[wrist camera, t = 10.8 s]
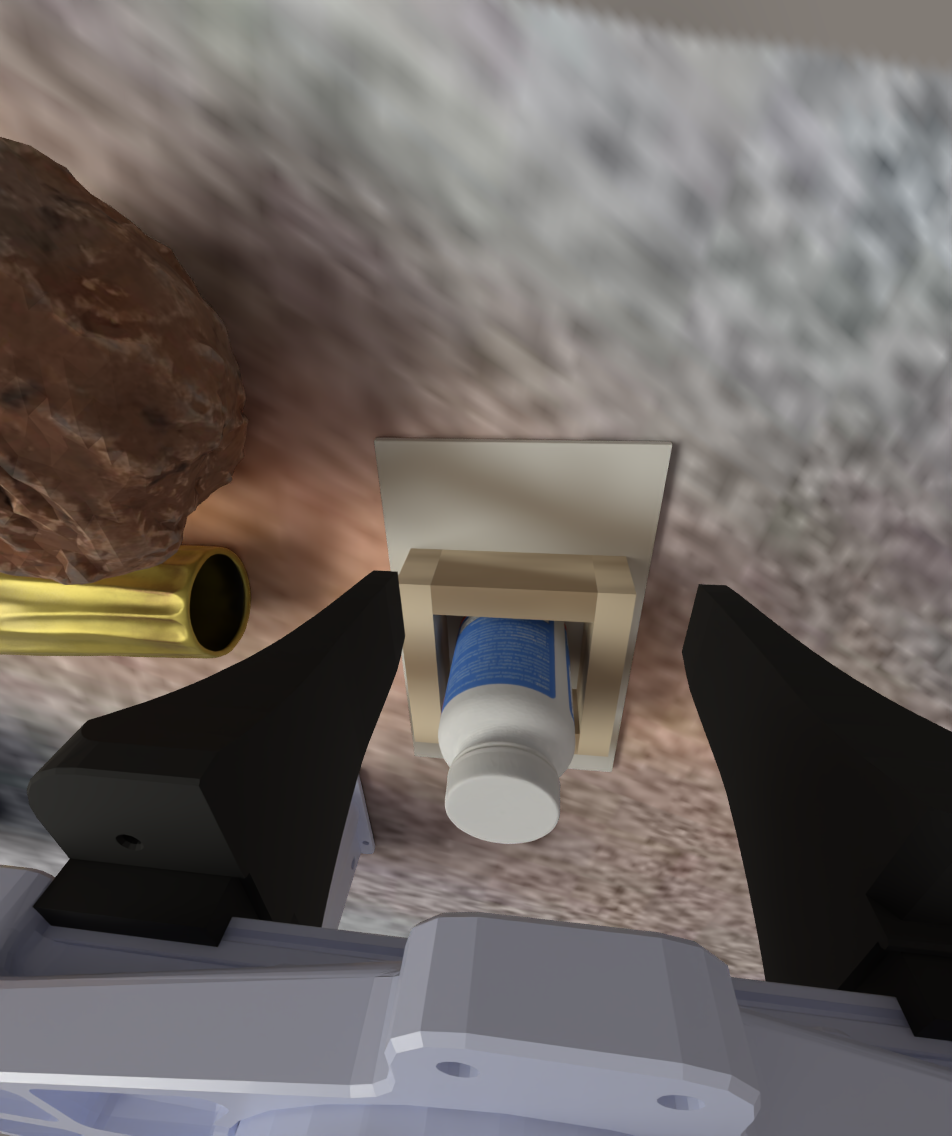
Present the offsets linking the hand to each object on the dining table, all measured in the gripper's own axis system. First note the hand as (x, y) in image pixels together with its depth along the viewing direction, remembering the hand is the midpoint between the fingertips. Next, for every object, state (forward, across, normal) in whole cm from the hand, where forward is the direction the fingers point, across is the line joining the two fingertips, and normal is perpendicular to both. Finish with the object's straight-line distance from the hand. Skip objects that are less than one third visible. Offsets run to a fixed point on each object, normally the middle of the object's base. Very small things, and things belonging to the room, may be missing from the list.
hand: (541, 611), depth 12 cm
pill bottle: (+10, +1, +9) cm, 13 cm away
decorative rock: (+11, +16, -4) cm, 20 cm away
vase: (+7, +29, +6) cm, 31 cm away
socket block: (+10, +1, +9) cm, 14 cm away
